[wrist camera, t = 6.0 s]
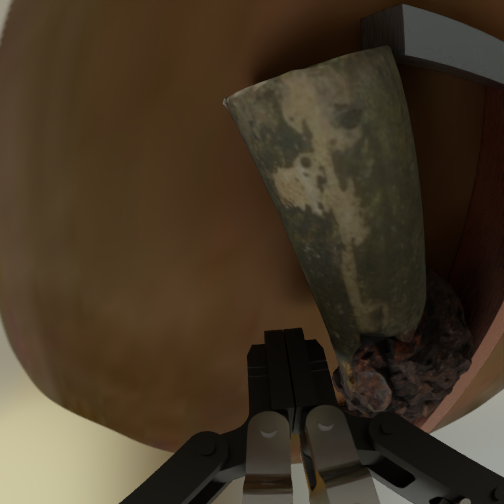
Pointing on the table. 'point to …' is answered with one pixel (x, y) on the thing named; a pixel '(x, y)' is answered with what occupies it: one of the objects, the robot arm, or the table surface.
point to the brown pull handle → (488, 173)
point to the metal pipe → (359, 227)
